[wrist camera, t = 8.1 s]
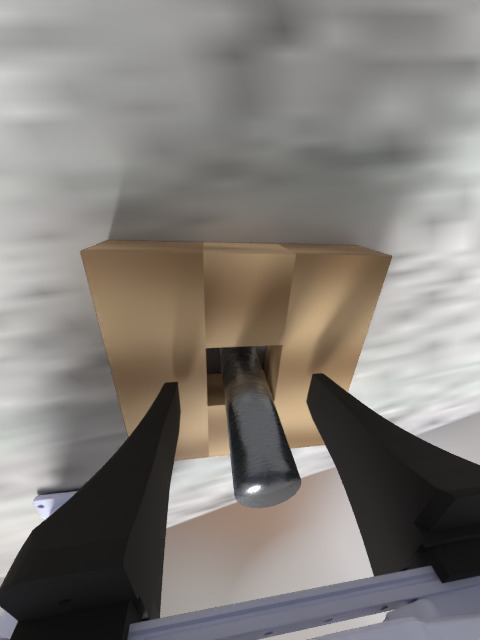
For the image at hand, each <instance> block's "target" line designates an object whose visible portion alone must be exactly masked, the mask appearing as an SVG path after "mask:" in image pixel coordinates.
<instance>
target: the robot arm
mask: <svg viewBox="0 0 480 640" xmlns="http://www.w3.org/2000/svg"><path fill="white" fill-rule="evenodd" d="M306 403H307V406H308V408H309V411H310V414H311V417H312V419H313V421H314V423H315V425H316V427H317V430H318V432H319V434H320V435H321V437H322V439H323V441H324V443H325V445H326V447H327V449H328V451H329V453H330V455H331V457H332V459H333V461H334V463H335V466H336V468H337V470H338V473H339V475H340V478H341V480H342V483H343V485H344V488H345V490H346V493H347V496H348V499H349V501H350V504H351V506H352V509H353V512H354V515H355V518H356V521H357V524H358V527H359V529H360V533H361V535H362V538H363V541H364V545H365V548H366V551H367V555H368V557H369V561H370V564H371V568H372V571H373V574H374V577H370V578H365V579H359V580H354V581H349V582H344V583H339V584H333V585H329V586H323V587H318V588H313V589H308V590H303V591H297V592H292V593H287V594H282V595H277V596H272V597H267V598H262V599H256V600H251V601H246V602H241V603H236V604H231V605H226V606H220V607H215V608H210V609H205V610H200V611H195V612H189V613H184V614H179V615H174V616H169V617H164V618H160V605H161V591H162V590H161V589H162V576H163V562H164V561H163V560H164V548H165V535H166V524H167V512H168V501H169V490H170V482H171V475H172V470H173V464H174V459H175V453H176V447H177V442H178V436H179V429H180V415H181V408H180V398H179V388H178V382H165V383H164V384H163V386H162V388H161V390H160V392H159V394H158V395H157V397H156V399H155V400H154V402H153V404H152V405H151V407H150V408H149V410H148V411H147V413H146V414H145V416H144V417H143V419H142V420H141V421H140V423H139V424H138V426H137V427H136V428H135V430H134V431H133V432H132V434H131V435H130V436H129V437H128V439H127V440H126V441H125V442H124V444H123V445H122V446H121V447H120V448H119V449H118V451H117V452H116V453H115V454H114V455H113V456H112V457H111V458H110V459H109V461H108V462H107V463H106V464H105V465H104V466H103V467H102V468H101V469H100V470H99V471H98V472H97V473H96V474H95V475H94V476H93V477H92V478H91V479H90V480H89V481H88V482H87V483H86V484H85V485H84V486H83V487H82V488H81V489H79V490H78V491H73V492H64V493H56V494H47V495H39V496H37V497H35V499H34V501H33V505H34V506H35V508H36V509H37V511H38V512H39V514H40V515H41V517H42V519H43V520H44V521H43V522H42V523H41V524H40V525H38V526H37V527H36V528H35V529H33V530H32V532H31V534H30V535H29V537H28V539H27V540H26V542H25V543H24V545H23V546H22V548H21V550H20V551H19V553H18V555H17V556H16V558H15V560H14V562H13V564H12V566H11V568H10V570H9V572H8V573H7V575H6V577H5V579H4V581H3V583H2V585H1V587H0V606H1V608H3V612H2V613H1V616H0V640H258V639H262V638H267V637H271V636H276V635H280V634H285V633H290V632H294V631H299V630H303V629H308V628H312V627H317V626H322V625H326V624H331V623H335V622H339V621H345V620H349V619H354V618H358V617H362V616H367V615H372V614H376V613H381V612H385V611H390V610H393V611H391V612H388V613H387V614H386V618H385V620H384V621H383V622H382V623H377V624H373V625H368V626H364V627H359V628H355V629H350V630H345V631H341V632H336V633H332V634H328V635H324V636H320V637H316V638H312V639H308V640H480V465H478V464H475V463H473V462H470V461H468V460H465V459H463V458H461V457H458V456H456V455H454V454H451V453H449V452H447V451H445V450H443V449H440V448H438V447H436V446H434V445H432V444H430V443H428V442H426V441H424V440H422V439H420V438H418V437H416V436H414V435H413V434H411V433H409V432H407V431H405V430H403V429H402V428H400V427H398V426H396V425H395V424H393V423H391V422H390V421H388V420H387V419H385V418H383V417H382V416H380V415H379V414H377V413H376V412H374V411H373V410H371V409H370V408H368V407H367V406H366V405H364V404H363V403H361V402H360V401H359V400H357V399H356V398H355V397H353V396H352V395H351V394H349V393H348V392H347V391H345V390H344V389H343V388H342V387H340V386H339V385H338V384H336V383H335V382H334V381H333V380H331V379H330V378H329V377H327V376H326V375H325V374H323V373H317V374H312V378H311V382H310V386H309V391H308V395H307V400H306ZM395 609H396V610H395Z"/></svg>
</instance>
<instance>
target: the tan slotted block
mask: <svg viewBox="0 0 480 640" xmlns="http://www.w3.org/2000/svg"><path fill="white" fill-rule="evenodd" d="M80 253H81V257H82V260H83V264H84V268H85V272H86V276H87V280H88V284H89V287H90V291H91V295H92V299H93V303H94V307H95V311H96V315H97V318H98V322H99V326H100V330H101V334H102V338H103V342H104V345H105V349H106V353H107V357H108V361H109V365H110V369H111V373H112V376H113V380H114V384H115V388H116V392H117V396H118V400H119V403H120V407H121V411H122V415H123V419H124V423H125V427H126V431H127V434H128V437H129V436H130V435H131V434H132V432H133V431H134V430H135V428H136V427H137V426H138V424H139V423H140V421H141V420H142V419H143V417H144V416H145V414H146V413H147V411H148V410H149V408H150V407H151V405H152V404H153V402H154V400H155V399H156V397H157V395H158V394H159V392H160V390H161V388H162V386H163V384H164V383H165V382H178V388H179V398H180V408H181V415H180V429H179V436H178V442H177V447H176V453H175V459H174V461H177V460H186V459H196V458H205V457H215V456H224V455H230V447H229V437H228V427H227V418H226V408H225V398H224V389H223V379H222V373H214V374H207V357H206V348H220V347H244V346H267V347H266V356H265V366H264V371H263V372H264V375H265V378H266V381H267V383H268V386H269V389H270V392H271V395H272V398H273V401H274V404H275V407H276V409H277V412H278V415H279V418H280V421H281V424H282V427H283V430H284V432H285V435H286V438H287V441H288V444H289V447H290V449H291V448H301V447H310V446H320V445H325V443H324V441H323V439H322V437H321V435H320V434H319V432H318V430H317V427H316V425H315V423H314V421H313V419H312V417H311V414H310V411H309V408H308V406H307V403H306V400H307V395H308V391H309V386H310V382H311V378H312V374H317V373H323V374H325V375H326V376H327V377H329V378H330V379H331V380H333V381H334V382H335V383H336V384H338V385H339V386H340V387H342V388H343V389H344V390H345V391H347V392H348V390H349V387H350V384H351V381H352V378H353V375H354V371H355V368H356V365H357V362H358V359H359V356H360V353H361V350H362V347H363V344H364V341H365V338H366V335H367V332H368V329H369V326H370V323H371V320H372V317H373V313H374V310H375V307H376V304H377V301H378V298H379V295H380V292H381V289H382V286H383V283H384V280H385V277H386V274H387V271H388V268H389V265H390V262H391V259H392V256H391V255H388V254H384V253H381V252H378V251H374V250H371V249H367V248H364V247H361V246H357V245H314V244H268V243H221V242H175V241H129V240H106V241H104V242H101V243H99V244H96V245H94V246H91V247H89V248H86V249H84V250H82V251H80Z"/></svg>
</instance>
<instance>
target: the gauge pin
mask: <svg viewBox="0 0 480 640" xmlns="http://www.w3.org/2000/svg"><path fill="white" fill-rule="evenodd" d="M219 350H220V360H221V369H222V379H223V389H224V398H225V408H226V418H227V427H228V437H229V447H230V456H231V466H232V476H233V485H234V495H235V499H236V500H237V502H238V503H240V504H241V505H243V506H246V507H251V508H264V507H270V506H274V505H277V504H280V503H282V502H284V501H286V500H288V499H289V498H291V497H292V496H293V495H295V494H296V492H297V491H298V490H299V488H300V486H301V479H300V476H299V473H298V470H297V467H296V464H295V461H294V458H293V456H292V453H291V450H290V447H289V444H288V441H287V438H286V435H285V432H284V430H283V427H282V424H281V421H280V418H279V415H278V412H277V409H276V407H275V404H274V401H273V398H272V395H271V392H270V389H269V386H268V383H267V381H266V378H265V375H264V372H263V369H262V366H261V363H260V360H259V358H258V355H257V352H256V349H255V346H244V347H220V348H219Z"/></svg>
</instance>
